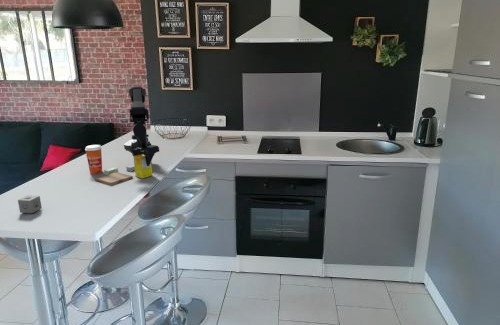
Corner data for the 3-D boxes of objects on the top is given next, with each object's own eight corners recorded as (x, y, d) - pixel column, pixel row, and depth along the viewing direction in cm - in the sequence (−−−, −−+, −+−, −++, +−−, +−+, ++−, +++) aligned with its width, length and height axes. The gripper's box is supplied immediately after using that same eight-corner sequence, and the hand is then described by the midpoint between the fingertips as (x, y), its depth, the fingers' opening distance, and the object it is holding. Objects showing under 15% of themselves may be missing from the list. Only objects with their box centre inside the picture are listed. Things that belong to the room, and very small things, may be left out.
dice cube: (20, 212, 134) (17, 199, 133) (30, 207, 139) (27, 195, 138) (32, 213, 133) (29, 200, 132) (41, 208, 138) (39, 195, 137)
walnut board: (117, 175, 179) (116, 172, 179) (132, 179, 172) (132, 176, 172) (95, 181, 169) (94, 178, 169) (111, 185, 163) (110, 182, 162)
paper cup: (86, 176, 177) (83, 148, 173) (89, 172, 184) (85, 145, 181) (104, 175, 179) (100, 147, 175) (105, 170, 186) (102, 144, 183)
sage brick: (114, 173, 183) (113, 167, 182) (118, 173, 182) (117, 168, 181) (104, 176, 178) (104, 170, 177) (109, 177, 177) (108, 171, 176)
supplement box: (145, 174, 179) (143, 153, 176) (152, 176, 176) (151, 155, 173) (135, 177, 175) (133, 155, 172) (142, 179, 171) (140, 157, 168)
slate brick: (135, 169, 189) (134, 164, 188) (139, 170, 188) (139, 164, 187) (126, 172, 184) (126, 166, 183) (131, 173, 182) (130, 167, 182)
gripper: (113, 133, 168) (116, 165, 172) (139, 137, 158) (142, 172, 162) (132, 130, 177) (135, 160, 181) (159, 133, 167) (161, 166, 171)
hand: (142, 164), depth 174 cm, fingers open, 7 cm apart
